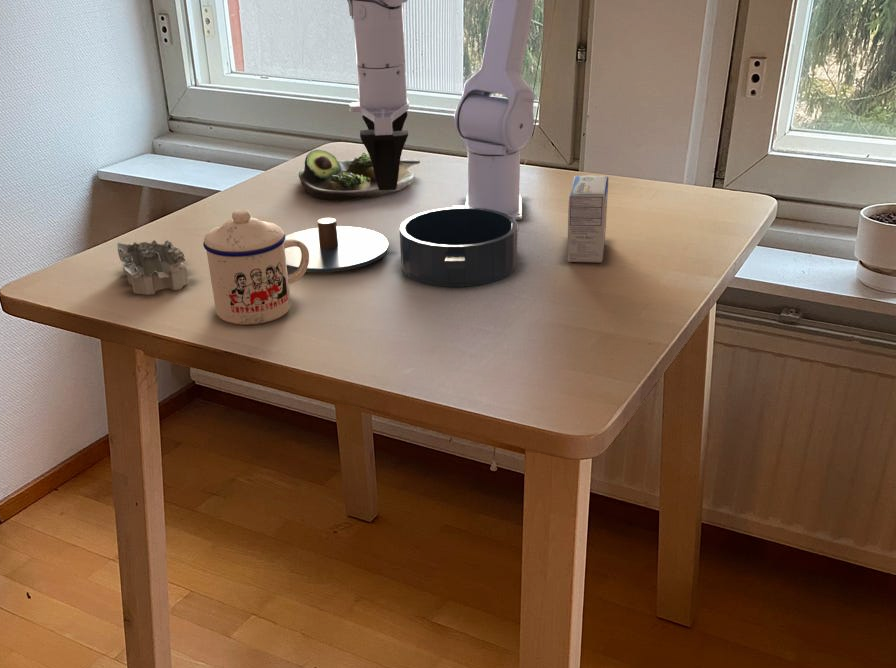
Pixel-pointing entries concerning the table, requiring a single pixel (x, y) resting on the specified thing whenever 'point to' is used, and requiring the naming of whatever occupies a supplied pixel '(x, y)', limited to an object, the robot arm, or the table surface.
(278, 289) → the teacup with lid
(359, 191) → the salad plate
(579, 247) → the medicine box
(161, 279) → the egg carton
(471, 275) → the pot
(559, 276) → the table surface
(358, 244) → the pot lid
